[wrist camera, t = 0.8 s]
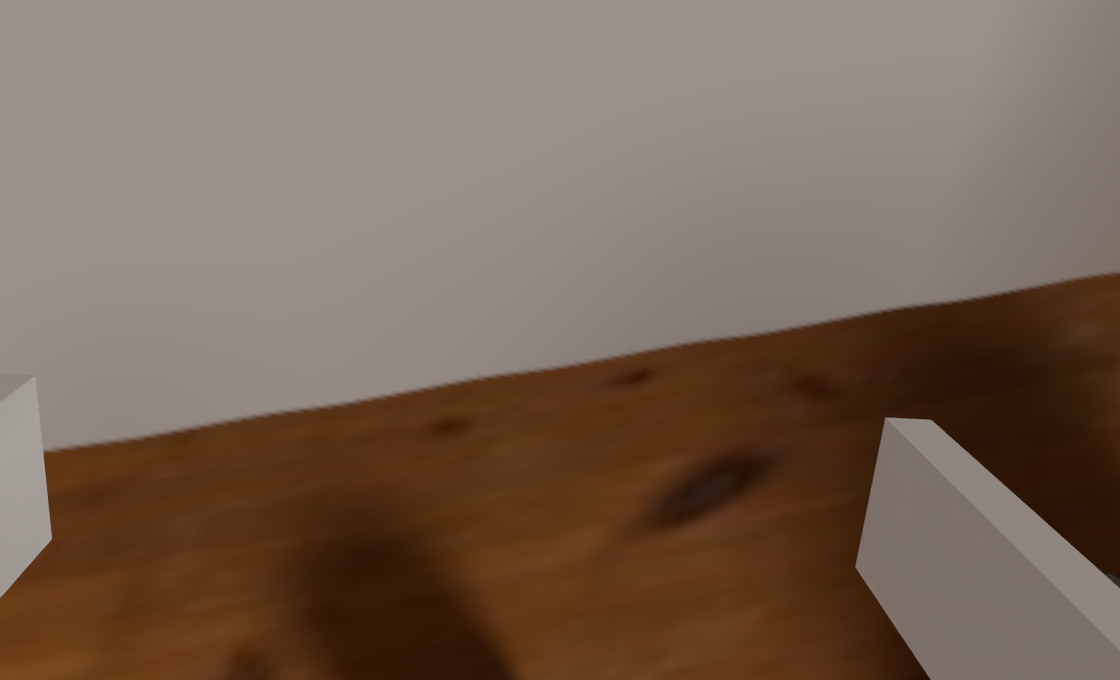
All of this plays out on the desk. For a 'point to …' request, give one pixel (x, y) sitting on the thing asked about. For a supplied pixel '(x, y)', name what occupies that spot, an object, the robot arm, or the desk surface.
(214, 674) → the desk surface
